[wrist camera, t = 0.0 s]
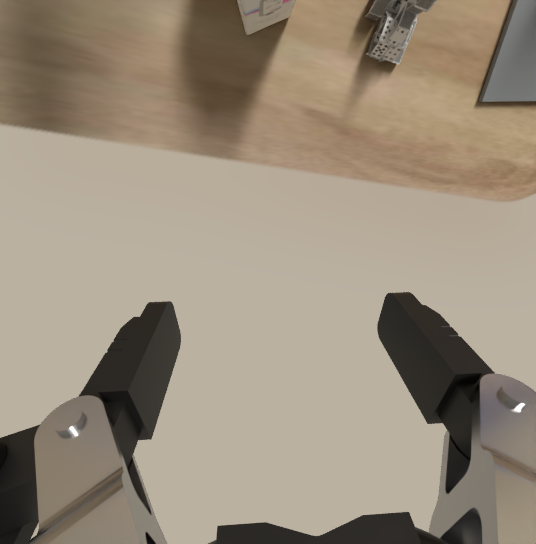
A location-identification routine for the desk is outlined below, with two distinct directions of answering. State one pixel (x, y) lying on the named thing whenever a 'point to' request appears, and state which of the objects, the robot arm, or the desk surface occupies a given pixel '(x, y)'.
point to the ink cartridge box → (263, 13)
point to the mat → (514, 58)
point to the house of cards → (394, 26)
